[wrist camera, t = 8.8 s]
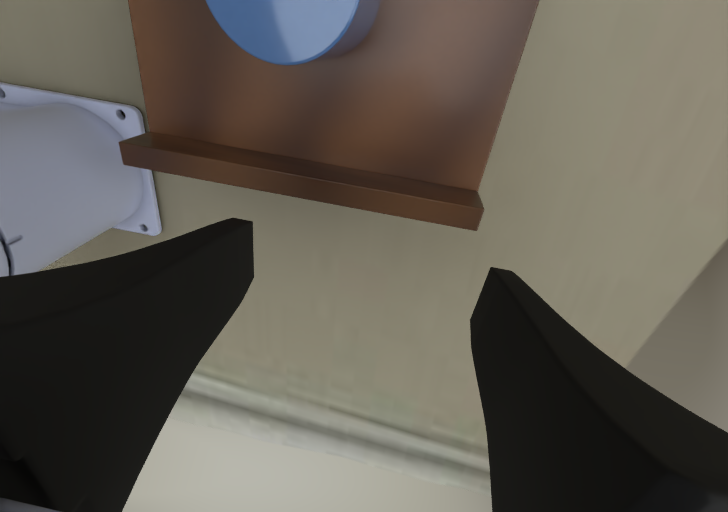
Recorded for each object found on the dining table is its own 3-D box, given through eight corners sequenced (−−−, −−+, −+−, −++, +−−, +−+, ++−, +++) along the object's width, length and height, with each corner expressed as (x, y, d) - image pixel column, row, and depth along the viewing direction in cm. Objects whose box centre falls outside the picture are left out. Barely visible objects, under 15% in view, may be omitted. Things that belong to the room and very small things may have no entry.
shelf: (197, 134, 20) (122, 165, 15) (173, -110, 15) (47, -186, 10) (462, 182, 20) (477, 231, 15) (533, -55, 14) (594, -109, 9)
